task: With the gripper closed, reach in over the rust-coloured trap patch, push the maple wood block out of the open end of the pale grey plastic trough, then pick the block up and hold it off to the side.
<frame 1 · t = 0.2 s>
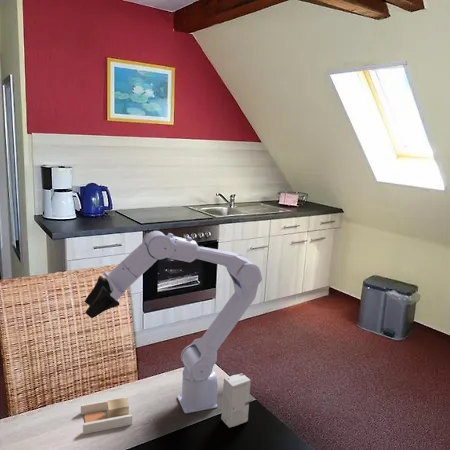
hand: (88, 309, 106), 31 cm above the table, tool tilted 45°, fingers open, 7 cm apart
skincare box: (234, 420, 117), on the table
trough: (106, 418, 115), on the table
block: (117, 416, 116), on the table
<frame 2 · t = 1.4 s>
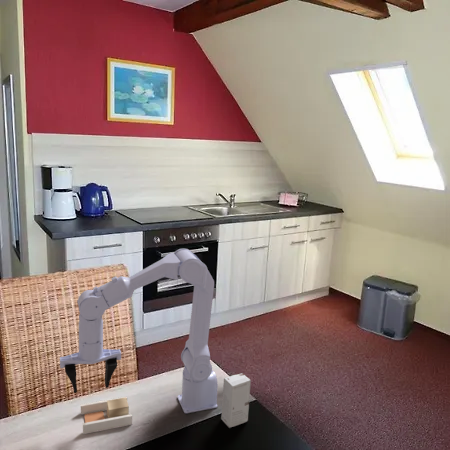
hand: (91, 387, 111), 10 cm above the table, tool pointing down, fingers open, 7 cm apart
nothing on the table moved.
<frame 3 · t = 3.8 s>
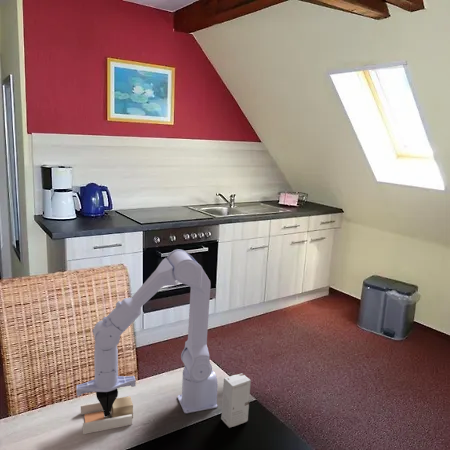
hand: (106, 413, 115), 1 cm above the table, tool pointing down, fingers closed
block: (121, 415, 116), on the table, touching gripper
everything else where it was.
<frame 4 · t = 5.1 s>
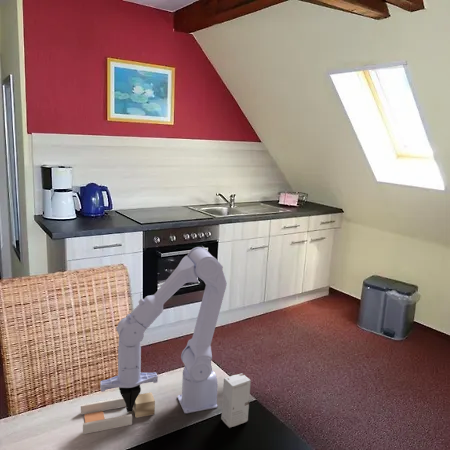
hand: (129, 409, 117), 1 cm above the table, tool pointing down, fingers closed
block: (143, 411, 119), on the table, touching gripper
everything else where it was.
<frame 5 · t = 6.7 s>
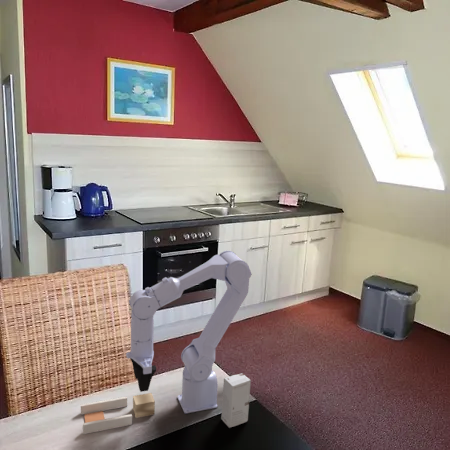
hand: (141, 384, 116), 8 cm above the table, tool pointing down, fingers open, 5 cm apart
block: (143, 411, 119), on the table
everything else where it was.
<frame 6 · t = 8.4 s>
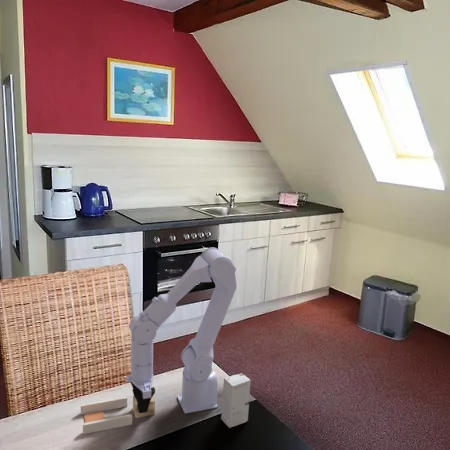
hand: (141, 406, 118), 2 cm above the table, tool pointing down, fingers closed on block, 4 cm apart
block: (143, 411, 119), on the table, touching gripper
everything else where it was.
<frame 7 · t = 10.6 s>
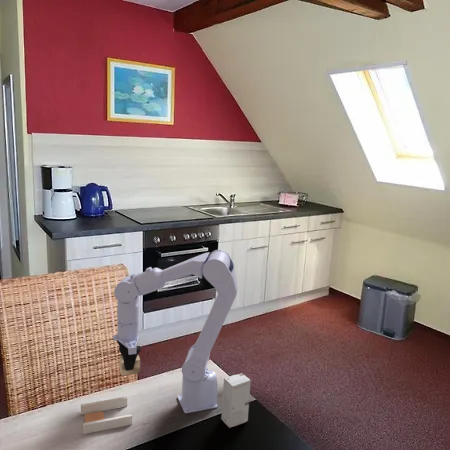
hand: (127, 365, 123), 9 cm above the table, tool pointing down, fingers closed on block, 4 cm apart
block: (129, 370, 124), point 8 cm above the table, touching gripper
everything else where it was.
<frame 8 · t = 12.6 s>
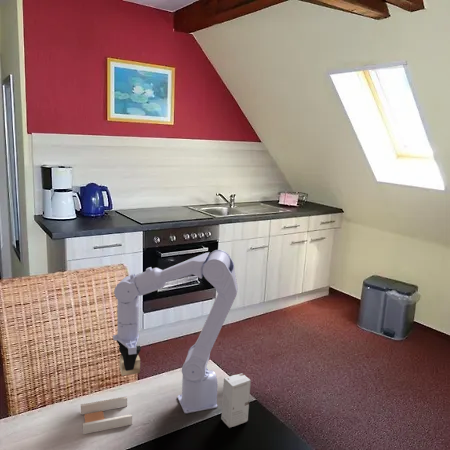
hand: (127, 365, 123), 9 cm above the table, tool pointing down, fingers closed on block, 4 cm apart
block: (129, 370, 124), point 8 cm above the table, touching gripper
everything else where it was.
at the end: the gripper is holding block; block point 7.7 cm above the table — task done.
